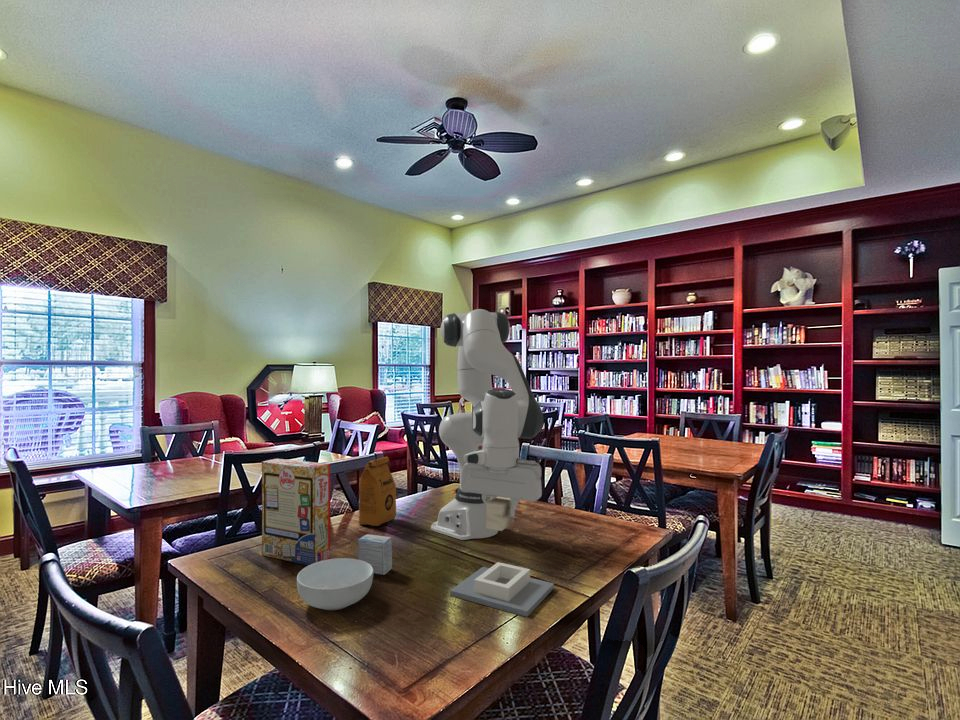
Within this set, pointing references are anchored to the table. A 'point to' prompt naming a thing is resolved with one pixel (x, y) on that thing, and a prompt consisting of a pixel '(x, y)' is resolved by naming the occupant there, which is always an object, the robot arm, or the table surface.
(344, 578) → the cereal bowl
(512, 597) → the cradle
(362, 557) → the medicine box
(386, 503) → the coffee package
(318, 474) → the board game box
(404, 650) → the table surface
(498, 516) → the key block
